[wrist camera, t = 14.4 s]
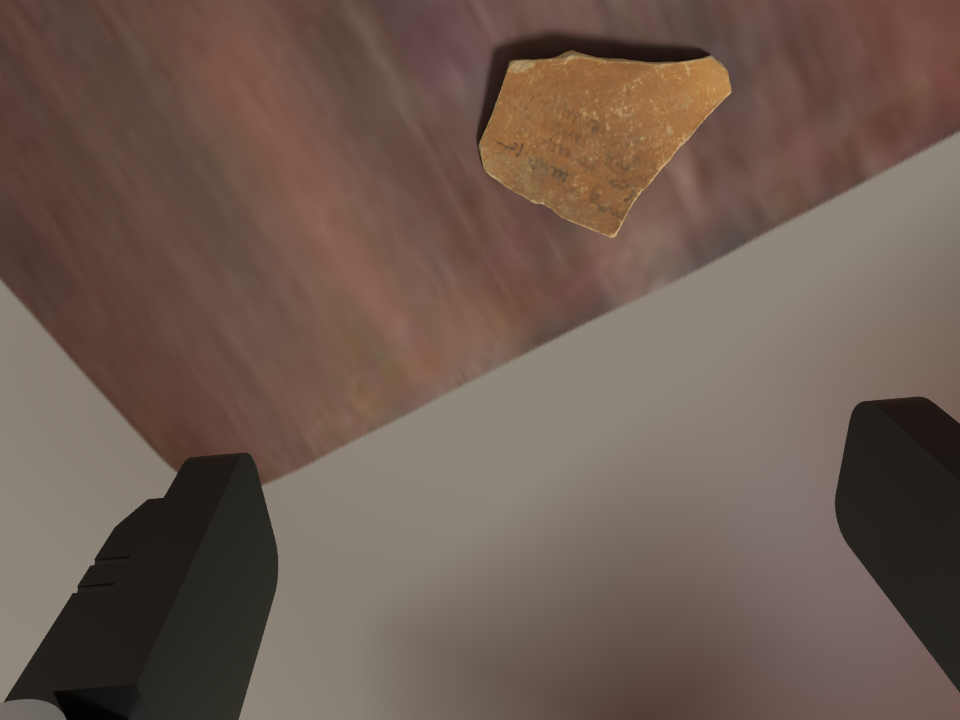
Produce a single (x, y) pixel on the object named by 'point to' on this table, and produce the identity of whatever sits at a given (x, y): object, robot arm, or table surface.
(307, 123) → the table surface
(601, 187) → the pottery shard
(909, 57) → the table surface
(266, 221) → the table surface
